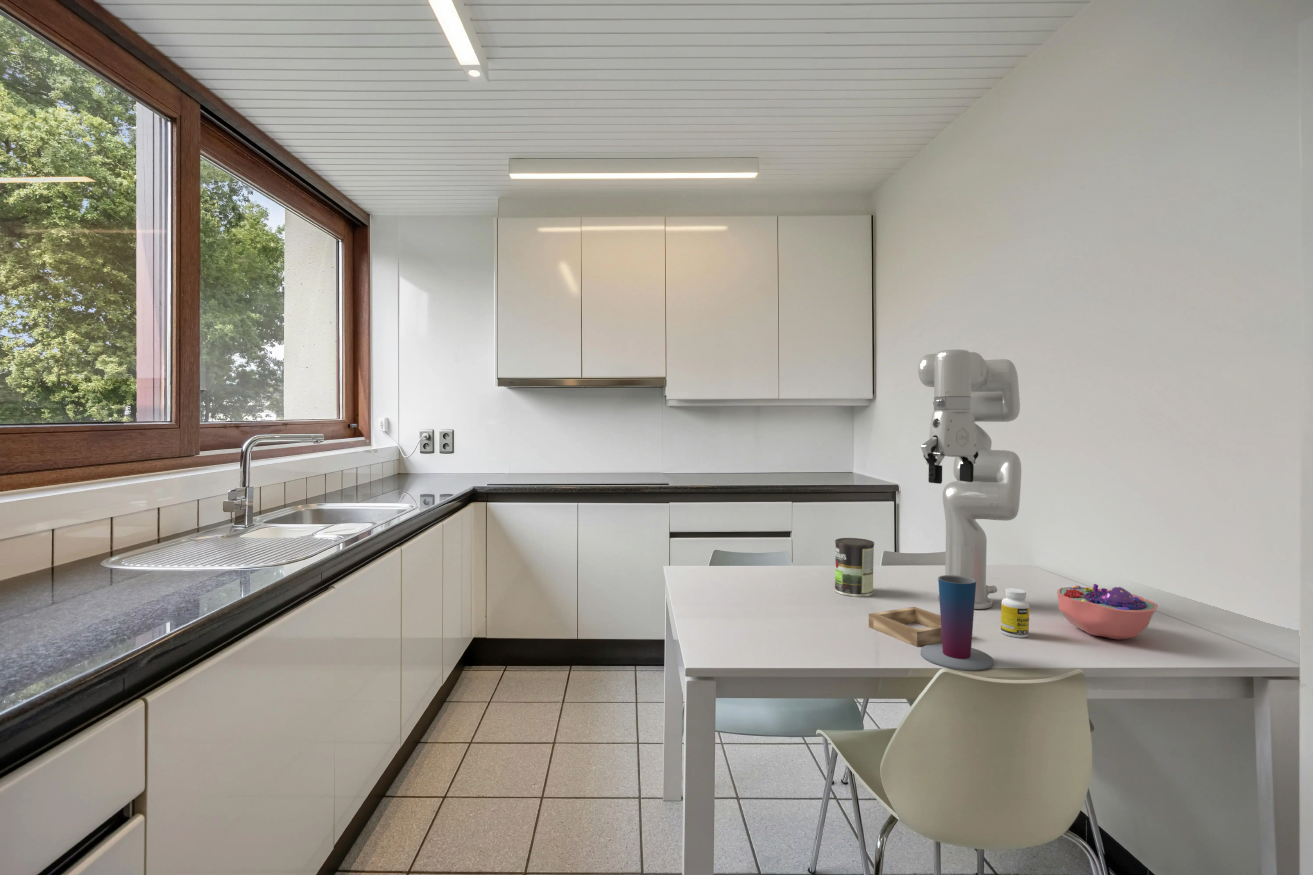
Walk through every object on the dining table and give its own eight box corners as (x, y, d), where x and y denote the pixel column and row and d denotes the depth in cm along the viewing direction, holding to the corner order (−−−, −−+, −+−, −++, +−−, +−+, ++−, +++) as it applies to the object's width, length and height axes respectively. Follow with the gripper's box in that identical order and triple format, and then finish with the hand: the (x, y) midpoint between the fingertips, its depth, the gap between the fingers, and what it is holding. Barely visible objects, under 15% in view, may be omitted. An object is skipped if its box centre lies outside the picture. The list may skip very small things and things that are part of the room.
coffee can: (843, 597, 171) (844, 544, 171) (828, 587, 181) (829, 537, 181) (880, 596, 172) (881, 544, 172) (863, 586, 182) (864, 537, 182)
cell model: (1097, 618, 153) (1098, 571, 153) (1179, 647, 134) (1180, 593, 133) (1035, 622, 150) (1036, 574, 150) (1109, 652, 131) (1110, 597, 130)
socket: (914, 619, 152) (914, 606, 152) (964, 637, 139) (964, 623, 139) (868, 626, 146) (868, 613, 146) (916, 646, 134) (917, 632, 134)
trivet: (952, 642, 136) (952, 640, 136) (1008, 664, 124) (1008, 660, 124) (906, 651, 130) (906, 648, 130) (960, 674, 119) (960, 671, 119)
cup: (941, 659, 125) (942, 582, 125) (934, 647, 132) (935, 574, 131) (979, 661, 123) (980, 584, 123) (970, 649, 130) (971, 575, 130)
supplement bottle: (1018, 639, 138) (1019, 594, 138) (995, 632, 143) (996, 588, 143) (1034, 636, 141) (1035, 591, 140) (1010, 628, 145) (1011, 585, 145)
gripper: (937, 404, 136) (936, 485, 137) (993, 406, 143) (992, 482, 144) (910, 405, 143) (909, 482, 143) (965, 406, 150) (964, 479, 151)
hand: (951, 482), depth 144 cm, fingers open, 9 cm apart
